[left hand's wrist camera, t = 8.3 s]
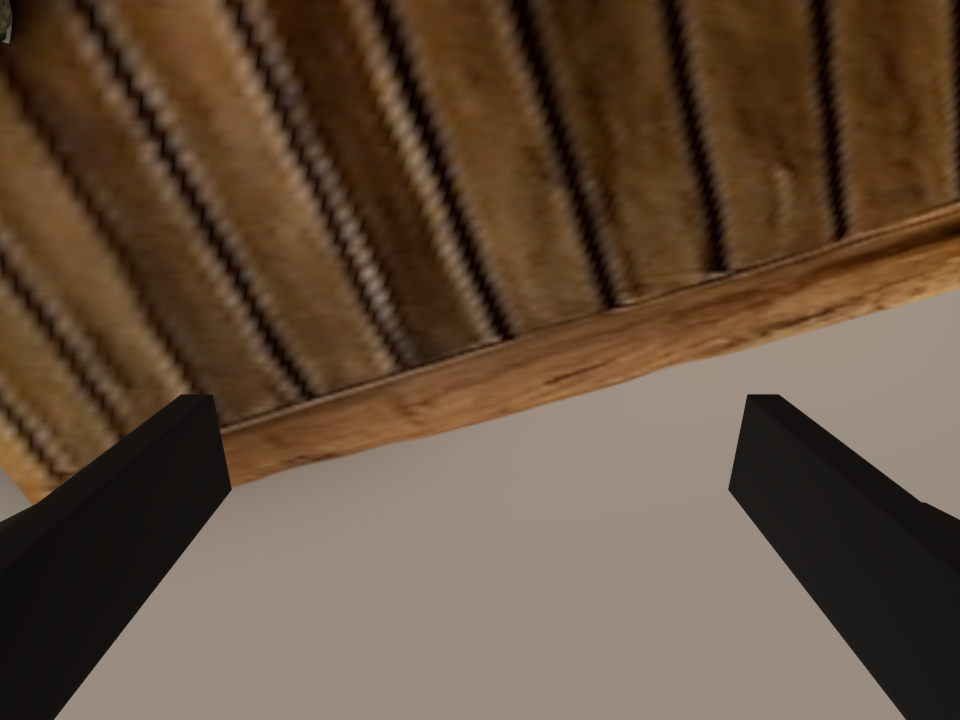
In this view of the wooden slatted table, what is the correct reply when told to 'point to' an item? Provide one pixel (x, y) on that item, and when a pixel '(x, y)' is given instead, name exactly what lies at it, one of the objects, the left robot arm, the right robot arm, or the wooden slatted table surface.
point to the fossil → (5, 21)
